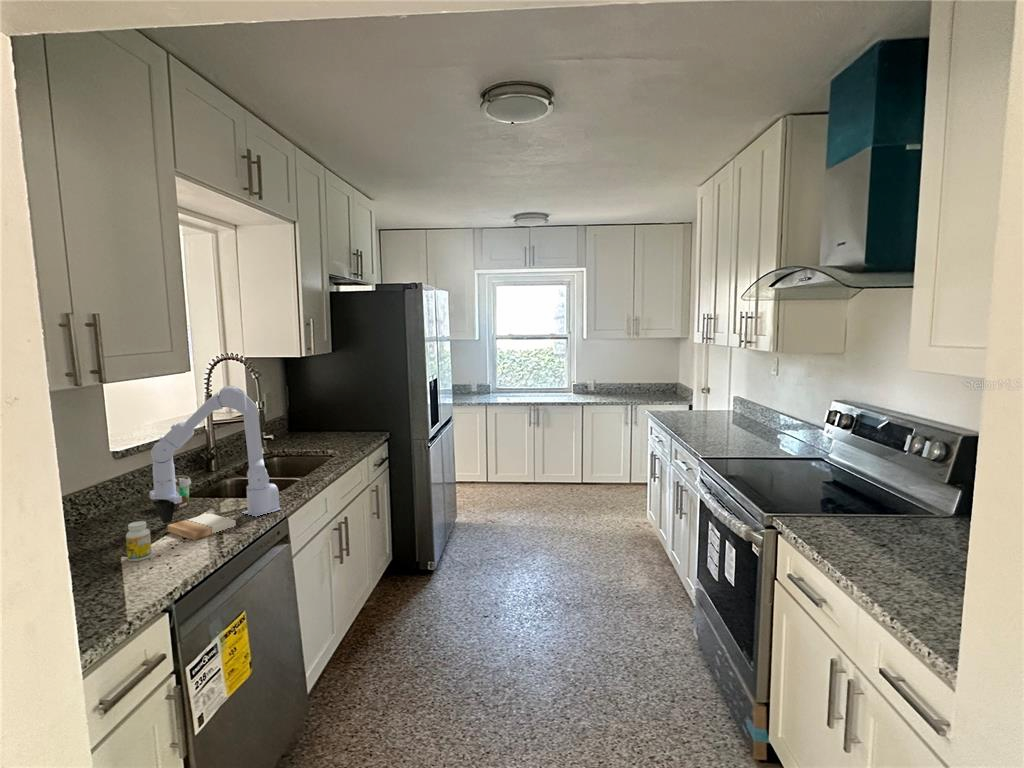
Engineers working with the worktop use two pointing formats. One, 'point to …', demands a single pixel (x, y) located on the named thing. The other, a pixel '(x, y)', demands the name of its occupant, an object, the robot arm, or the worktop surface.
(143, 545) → the supplement bottle
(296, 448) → the worktop surface
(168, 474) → the robot arm
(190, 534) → the tan flat block
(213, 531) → the board
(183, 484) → the food container
